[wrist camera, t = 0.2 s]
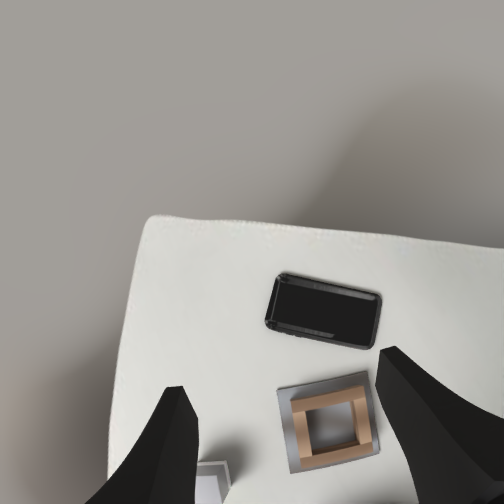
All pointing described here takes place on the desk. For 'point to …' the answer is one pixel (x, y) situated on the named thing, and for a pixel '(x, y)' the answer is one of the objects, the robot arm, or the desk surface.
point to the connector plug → (212, 482)
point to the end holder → (328, 422)
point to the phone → (323, 312)
